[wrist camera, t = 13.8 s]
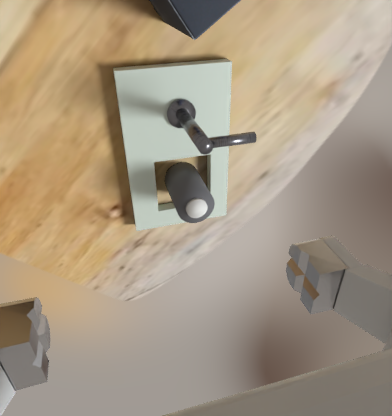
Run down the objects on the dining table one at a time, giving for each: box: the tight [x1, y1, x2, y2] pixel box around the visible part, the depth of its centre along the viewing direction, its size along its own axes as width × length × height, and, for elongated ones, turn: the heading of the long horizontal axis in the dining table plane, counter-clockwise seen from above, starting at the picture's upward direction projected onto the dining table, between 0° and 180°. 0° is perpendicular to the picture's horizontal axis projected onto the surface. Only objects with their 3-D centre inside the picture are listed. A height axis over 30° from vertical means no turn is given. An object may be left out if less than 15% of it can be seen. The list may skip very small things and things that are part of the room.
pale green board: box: [113, 59, 232, 231], centre depth 43 cm, size 12×20×2 cm, turn 1°
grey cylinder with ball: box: [165, 162, 215, 223], centre depth 43 cm, size 4×4×8 cm
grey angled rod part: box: [167, 99, 256, 155], centre depth 36 cm, size 7×3×10 cm, turn 91°
